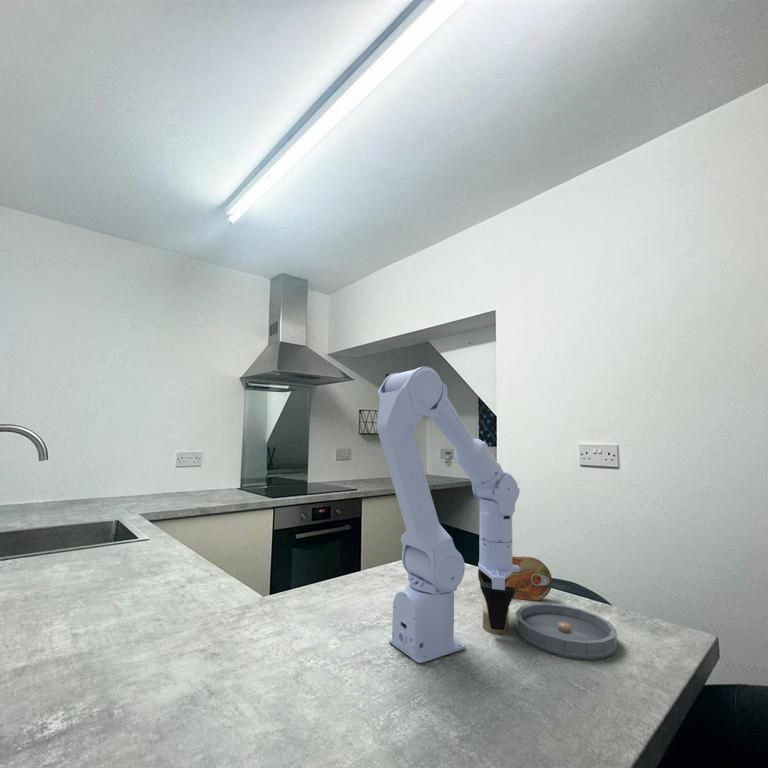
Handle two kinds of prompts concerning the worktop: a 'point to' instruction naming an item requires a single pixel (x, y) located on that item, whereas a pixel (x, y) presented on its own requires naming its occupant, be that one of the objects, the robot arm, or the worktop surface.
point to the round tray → (566, 631)
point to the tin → (529, 579)
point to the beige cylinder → (487, 624)
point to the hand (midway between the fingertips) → (495, 619)
